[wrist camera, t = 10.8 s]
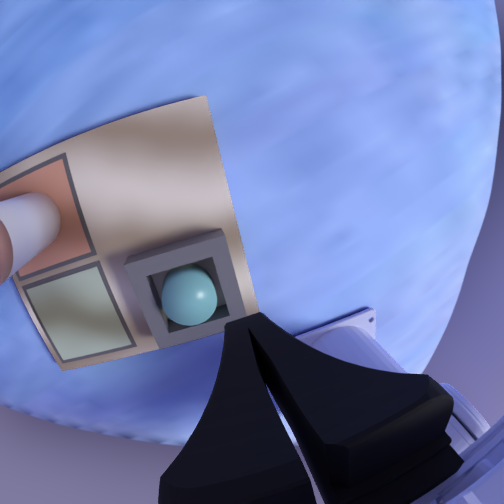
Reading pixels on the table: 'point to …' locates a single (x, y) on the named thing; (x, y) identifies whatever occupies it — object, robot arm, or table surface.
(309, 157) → the table surface
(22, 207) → the cylinder
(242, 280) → the beige flat square board
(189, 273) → the button
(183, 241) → the button housing
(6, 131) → the table surface
